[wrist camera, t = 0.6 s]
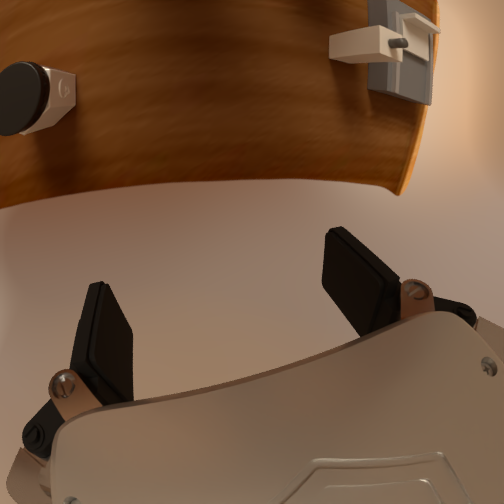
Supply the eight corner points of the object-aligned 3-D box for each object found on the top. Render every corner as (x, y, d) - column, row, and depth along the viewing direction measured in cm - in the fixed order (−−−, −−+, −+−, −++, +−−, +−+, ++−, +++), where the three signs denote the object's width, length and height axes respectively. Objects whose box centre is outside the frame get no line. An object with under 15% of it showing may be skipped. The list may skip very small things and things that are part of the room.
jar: (78, 119, 28) (42, 128, 18) (31, 132, 26) (-12, 148, 16) (78, 60, 23) (43, 46, 13) (30, 75, 21) (-14, 73, 11)
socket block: (367, -2, 27) (389, -7, 22) (412, 21, 30) (434, 19, 25) (367, 88, 37) (391, 91, 32) (411, 102, 40) (434, 106, 35)
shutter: (398, 14, 25) (415, 12, 22) (424, 29, 27) (440, 28, 24) (400, 48, 29) (416, 48, 26) (425, 61, 30) (441, 62, 27)
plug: (329, 35, 31) (392, 23, 19) (350, 41, 32) (415, 34, 20) (328, 58, 33) (393, 52, 21) (350, 63, 34) (415, 62, 22)
